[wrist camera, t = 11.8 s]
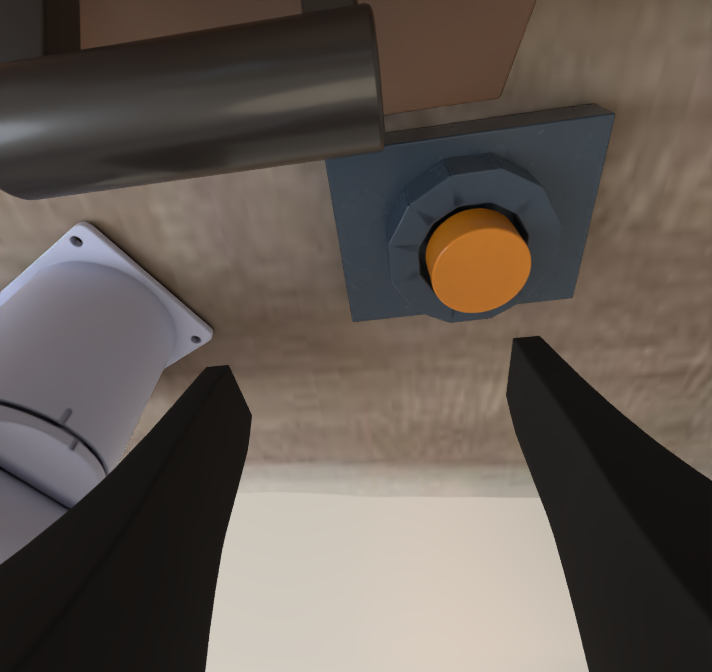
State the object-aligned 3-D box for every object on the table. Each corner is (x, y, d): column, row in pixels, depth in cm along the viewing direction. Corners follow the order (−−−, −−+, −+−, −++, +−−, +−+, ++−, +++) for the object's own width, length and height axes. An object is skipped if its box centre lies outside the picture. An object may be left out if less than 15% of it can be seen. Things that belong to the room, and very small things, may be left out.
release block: (352, 302, 22) (352, 347, 20) (325, 140, 17) (321, 169, 14) (559, 279, 21) (589, 321, 19) (595, 102, 16) (643, 125, 14)
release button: (426, 293, 18) (432, 318, 17) (423, 213, 16) (430, 235, 15) (512, 283, 18) (525, 308, 17) (522, 201, 16) (539, 221, 14)
